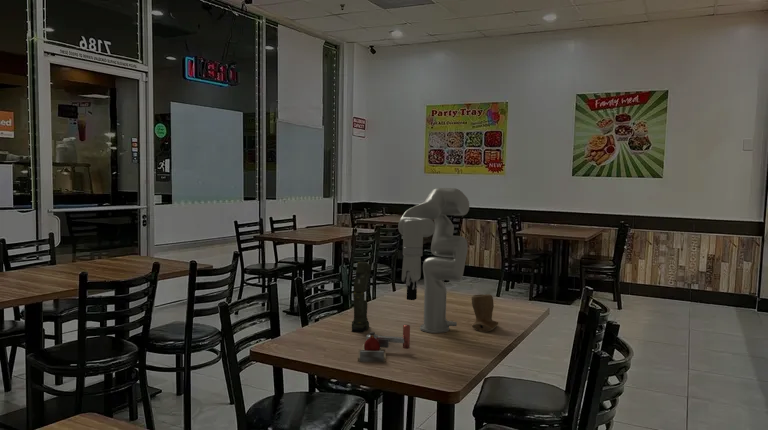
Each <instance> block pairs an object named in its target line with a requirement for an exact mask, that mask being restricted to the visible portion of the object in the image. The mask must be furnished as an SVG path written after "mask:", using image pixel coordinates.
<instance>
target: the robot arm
mask: <svg viewBox="0 0 768 430" xmlns="http://www.w3.org/2000/svg"><path fill="white" fill-rule="evenodd" d="M469 211H470V201H469V199H468V197H467V195H465V193H463V191H461V190H460V189H459V188H454V187H453V188H451V187H437V188H433V189H431V190H430V192H429V193H428V195H427V196H426V198H425V199H424V201H423V202H422V203H420V204H417V205H414V206H413V207H410V208H408V209H406V210H405V212H404V213H403V214H402V216H401V217H400V219H399V220H398V224H397V225H398V226H397V228H398V232H399V233H400V235H401V236H402V238H403V240H402V256H403V258H402V269H401V281H402V282H403V283H405V287H406V300H408V301H415V300H417V298H418V294H417V293H418V291H417V290H418V289H417V288H418V281H419V280H420V279H421V276H422V273H423V281H424V291H423V292H424V295H423V297H424V298H423V299H424V301H423V323H422V324H421V325H420V326H419V330H420V331H423V332H425V333H429V334H431V333H432V334H443V333H446V332H449V331H450V327H457V325H458V324H457V323H458V322H457V321H454V320H448V319H447V287H446V285H445V283H444V282H443V281H451V282H452V281H453V282H456V281H457V282H458V281H461V280H462V278H463V276H464V272H465V265H466V259H467V256H468V255H467V254H468V241H467V239H466V238H465V237H464V236H461V235H454V232H455V231H454V230H455V226H454V224H453V222H452V220H451V219H450V217H448V216H466V215H467V214H468V212H469ZM431 236H432V239H431V245H430V252H431V254H432V255H433V256H429V257H427V258H425V259H424V261H423V262H422V259H421V257H423V251H424V250H423V249H424V247H423V245H424V238H428V237H429V238H430V237H431ZM422 263H423V264H422Z"/></svg>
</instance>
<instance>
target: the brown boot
mask: <svg viewBox="0 0 768 430" xmlns="http://www.w3.org/2000/svg"><path fill="white" fill-rule="evenodd" d="M471 305H472V308H473V313H474V315H475V322H474V323H473V324H472V325H471V327H472V328H473V329H475V330H476V331H478V332H479V331H480V332H489V331H493V330H494V329H496V327H497V326H499V321H495V320H494V319H493V313H494V297H493V295H492V294H490V293H489V294H488V293H487V294H483V293H482V294H474V295H472V296H471Z"/></svg>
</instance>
